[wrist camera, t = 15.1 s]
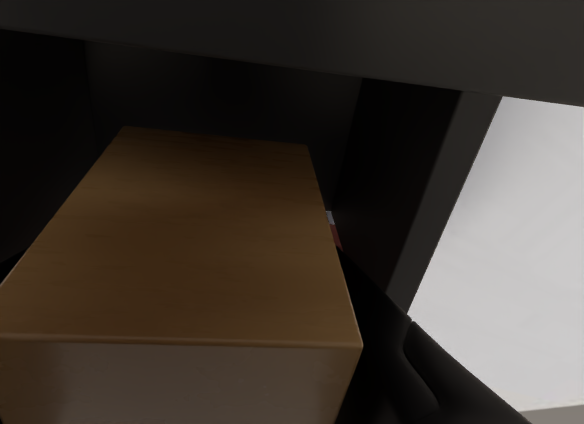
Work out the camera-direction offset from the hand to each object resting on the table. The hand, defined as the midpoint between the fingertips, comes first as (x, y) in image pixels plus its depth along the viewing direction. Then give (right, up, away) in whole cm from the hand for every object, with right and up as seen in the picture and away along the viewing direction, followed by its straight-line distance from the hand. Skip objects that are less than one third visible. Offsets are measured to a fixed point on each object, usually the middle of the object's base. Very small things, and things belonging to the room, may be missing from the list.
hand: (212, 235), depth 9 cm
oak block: (0, +1, +1) cm, 1 cm away
